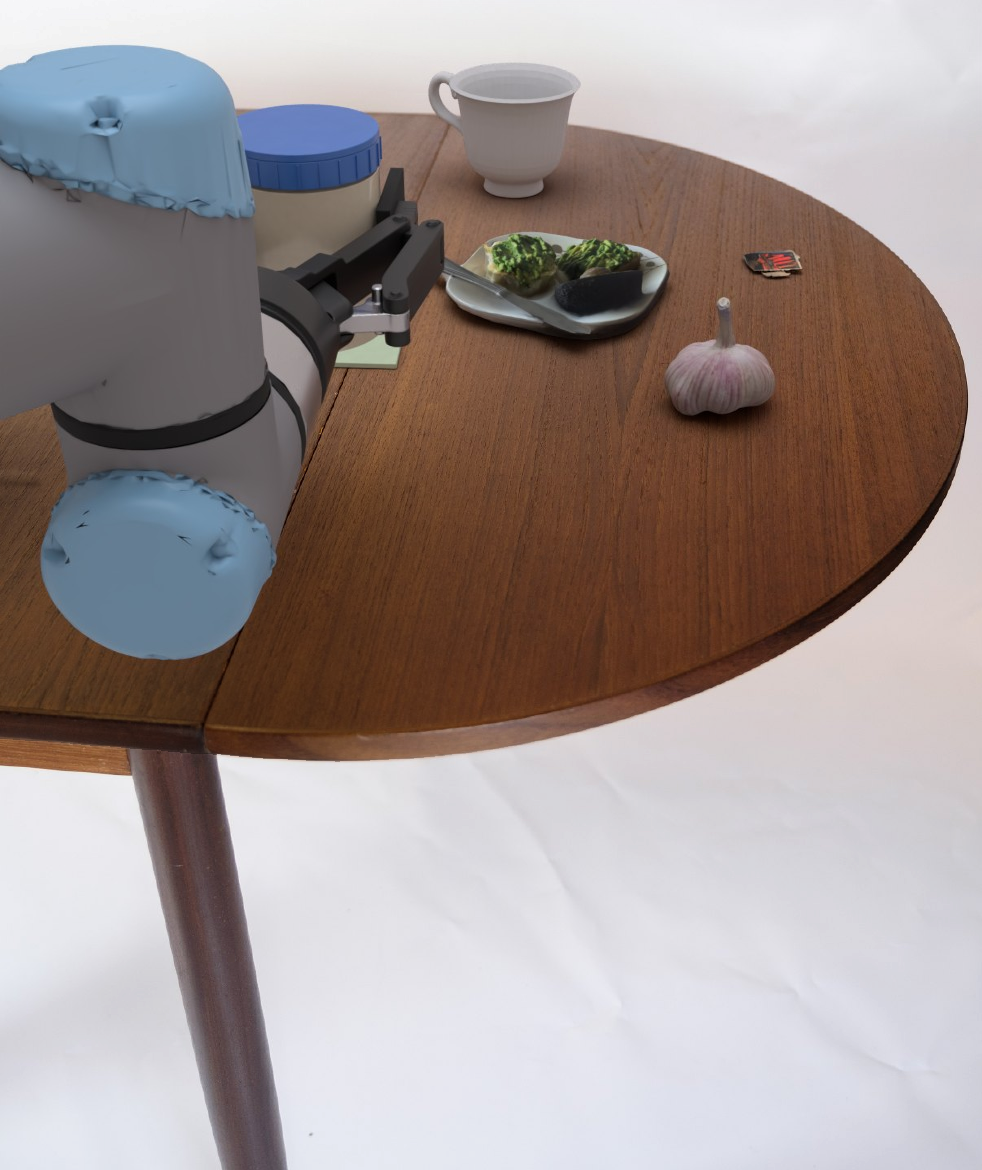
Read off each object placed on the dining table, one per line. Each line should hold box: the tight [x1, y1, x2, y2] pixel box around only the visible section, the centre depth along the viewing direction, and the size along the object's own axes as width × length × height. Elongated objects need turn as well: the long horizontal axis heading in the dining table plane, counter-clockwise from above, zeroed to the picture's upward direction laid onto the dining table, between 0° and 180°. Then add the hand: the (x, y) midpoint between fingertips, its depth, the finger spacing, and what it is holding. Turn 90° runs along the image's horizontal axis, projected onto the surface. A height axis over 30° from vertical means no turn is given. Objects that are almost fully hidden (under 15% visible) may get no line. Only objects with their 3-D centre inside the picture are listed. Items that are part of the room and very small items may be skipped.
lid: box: [237, 103, 383, 190], centre depth 67 cm, size 8×8×2 cm
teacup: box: [427, 62, 581, 199], centre depth 121 cm, size 12×15×10 cm
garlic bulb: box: [664, 296, 776, 416], centre depth 87 cm, size 8×7×8 cm
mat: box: [334, 335, 402, 370], centre depth 99 cm, size 14×12×1 cm
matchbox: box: [742, 249, 803, 278], centre depth 108 cm, size 5×5×1 cm
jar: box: [251, 166, 382, 352], centre depth 70 cm, size 8×8×10 cm
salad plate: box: [440, 231, 671, 341], centre depth 103 cm, size 19×18×5 cm
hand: (321, 189), depth 73 cm, fingers closed on jar, 8 cm apart
